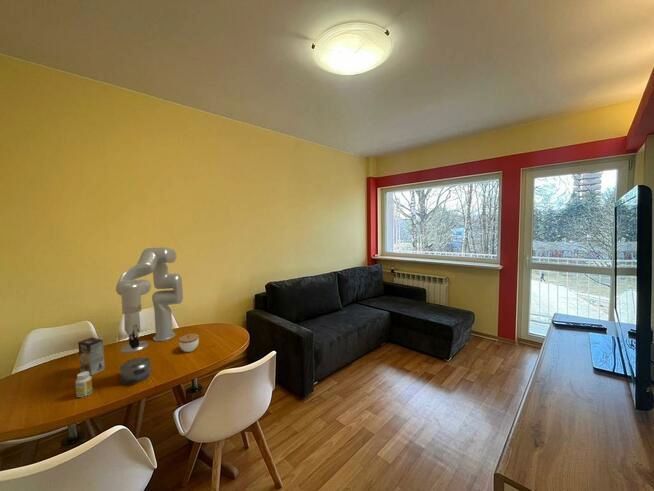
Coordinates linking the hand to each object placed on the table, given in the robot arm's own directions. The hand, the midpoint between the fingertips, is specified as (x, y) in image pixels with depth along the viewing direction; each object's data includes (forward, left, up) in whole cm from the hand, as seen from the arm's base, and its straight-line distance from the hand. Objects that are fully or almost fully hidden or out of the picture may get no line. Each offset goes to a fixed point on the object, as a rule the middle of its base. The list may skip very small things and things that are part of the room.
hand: (134, 345), depth 132 cm
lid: (0, 0, -1) cm, 1 cm away
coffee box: (-23, -14, -17) cm, 32 cm away
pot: (0, 0, -16) cm, 16 cm away
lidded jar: (-11, +29, -17) cm, 35 cm away
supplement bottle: (-1, -19, -17) cm, 25 cm away
